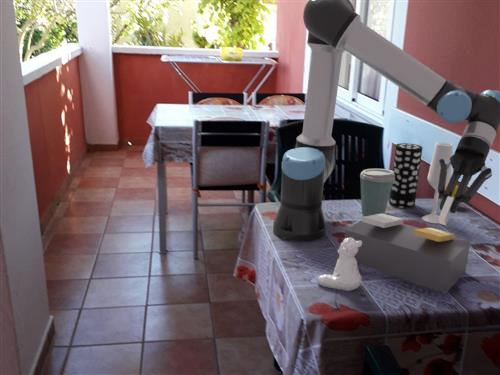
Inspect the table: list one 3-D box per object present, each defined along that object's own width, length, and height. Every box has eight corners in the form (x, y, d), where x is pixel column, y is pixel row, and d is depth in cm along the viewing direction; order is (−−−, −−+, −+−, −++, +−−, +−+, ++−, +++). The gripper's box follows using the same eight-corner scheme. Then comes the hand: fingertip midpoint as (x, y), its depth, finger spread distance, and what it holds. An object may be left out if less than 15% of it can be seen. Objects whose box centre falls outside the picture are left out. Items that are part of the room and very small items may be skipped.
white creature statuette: (340, 271, 120) (345, 225, 116) (371, 285, 114) (376, 237, 110) (315, 284, 114) (318, 236, 110) (345, 299, 108) (350, 248, 104)
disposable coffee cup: (350, 217, 154) (355, 171, 149) (362, 207, 162) (366, 163, 158) (384, 225, 148) (389, 177, 144) (394, 214, 157) (400, 169, 152)
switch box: (368, 241, 137) (371, 214, 134) (465, 271, 121) (470, 241, 118) (342, 258, 126) (345, 229, 124) (445, 293, 111) (450, 261, 108)
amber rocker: (429, 232, 123) (430, 227, 123) (454, 239, 120) (455, 233, 119) (412, 234, 114) (414, 228, 114) (438, 241, 110) (440, 236, 110)
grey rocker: (381, 218, 131) (382, 213, 131) (402, 223, 127) (404, 218, 127) (361, 221, 122) (362, 216, 121) (384, 227, 118) (385, 222, 118)
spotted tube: (414, 201, 169) (422, 144, 163) (414, 209, 162) (422, 150, 155) (389, 198, 172) (396, 142, 165) (388, 206, 164) (395, 147, 158)
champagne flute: (449, 221, 152) (461, 145, 145) (432, 224, 150) (443, 147, 142) (433, 214, 158) (444, 140, 151) (417, 216, 156) (427, 142, 148)
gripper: (503, 157, 126) (471, 236, 119) (451, 147, 134) (418, 221, 126) (501, 139, 120) (468, 222, 113) (447, 131, 128) (413, 207, 121)
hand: (442, 221), depth 120 cm, fingers closed
